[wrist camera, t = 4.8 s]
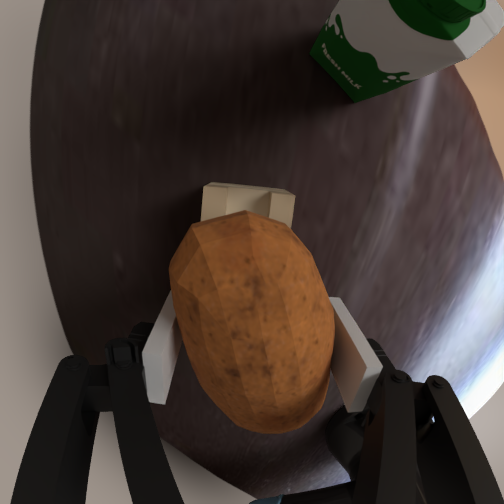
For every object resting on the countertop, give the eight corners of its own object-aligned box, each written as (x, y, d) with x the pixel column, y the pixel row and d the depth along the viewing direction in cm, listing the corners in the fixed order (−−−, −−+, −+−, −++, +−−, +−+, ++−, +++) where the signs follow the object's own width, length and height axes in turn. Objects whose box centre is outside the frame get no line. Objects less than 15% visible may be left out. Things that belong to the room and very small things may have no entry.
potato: (305, 188, 15) (354, 215, 9) (323, 378, 19) (350, 459, 13) (169, 212, 16) (119, 256, 9) (220, 395, 19) (216, 479, 13)
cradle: (271, 285, 32) (278, 313, 26) (204, 279, 32) (195, 306, 25) (284, 189, 29) (295, 195, 23) (212, 181, 29) (203, 186, 23)
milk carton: (296, 52, 25) (364, -74, 6) (353, 14, 24) (445, -87, 5) (354, 115, 27) (495, 67, 8) (406, 72, 26) (538, 19, 7)
